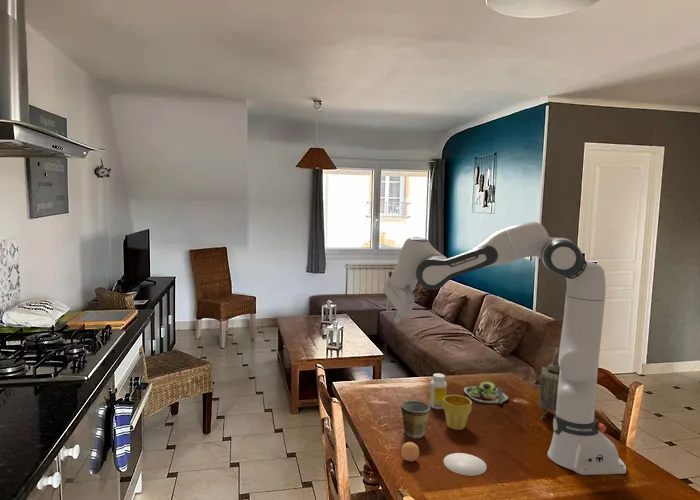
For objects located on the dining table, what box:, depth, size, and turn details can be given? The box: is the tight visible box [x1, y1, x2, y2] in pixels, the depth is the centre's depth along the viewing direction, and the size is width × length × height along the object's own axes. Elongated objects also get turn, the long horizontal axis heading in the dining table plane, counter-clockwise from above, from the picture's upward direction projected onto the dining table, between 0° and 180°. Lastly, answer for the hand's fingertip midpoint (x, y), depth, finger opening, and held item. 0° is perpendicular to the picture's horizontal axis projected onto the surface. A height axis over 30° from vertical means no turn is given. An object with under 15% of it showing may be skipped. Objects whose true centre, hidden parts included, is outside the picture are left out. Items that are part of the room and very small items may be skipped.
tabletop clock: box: [538, 352, 560, 420], centre depth 186 cm, size 14×9×25 cm, turn 155°
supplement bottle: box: [428, 372, 448, 410], centre depth 192 cm, size 7×7×13 cm
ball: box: [400, 441, 420, 462], centre depth 150 cm, size 6×6×6 cm
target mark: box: [443, 452, 488, 477], centre depth 148 cm, size 13×13×1 cm
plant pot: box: [442, 394, 473, 431], centre depth 175 cm, size 10×10×10 cm
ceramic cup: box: [400, 399, 431, 439], centre depth 169 cm, size 13×10×10 cm
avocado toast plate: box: [463, 380, 509, 405], centre depth 204 cm, size 19×18×5 cm
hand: (392, 316), depth 170 cm, fingers open, 8 cm apart
